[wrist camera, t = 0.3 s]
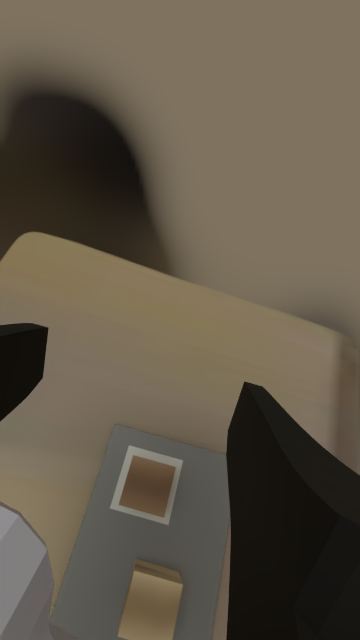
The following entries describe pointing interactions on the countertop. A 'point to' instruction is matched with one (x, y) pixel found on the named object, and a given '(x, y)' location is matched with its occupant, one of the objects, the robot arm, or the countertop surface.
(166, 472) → the walnut block
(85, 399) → the countertop surface
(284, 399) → the countertop surface
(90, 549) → the build board
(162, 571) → the beech block
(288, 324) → the countertop surface
